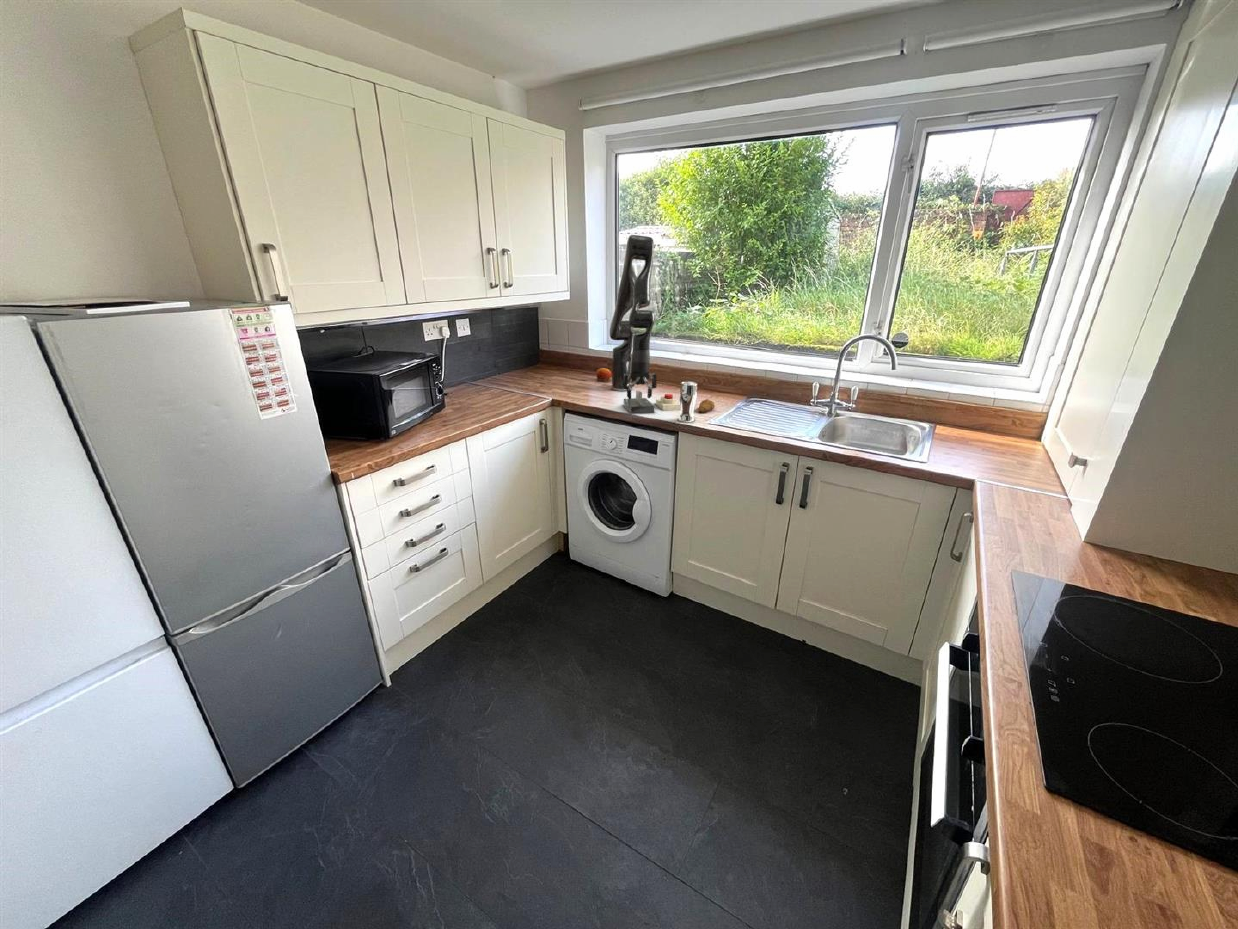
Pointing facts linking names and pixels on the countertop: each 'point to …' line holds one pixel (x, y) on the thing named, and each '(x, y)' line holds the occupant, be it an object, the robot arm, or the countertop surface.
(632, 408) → the hob panel
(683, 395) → the beer glass
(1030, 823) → the countertop surface
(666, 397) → the ignition button
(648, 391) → the robot arm
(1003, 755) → the countertop surface
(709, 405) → the brown lumpy oval piece
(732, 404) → the countertop surface
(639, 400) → the knob
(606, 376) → the fruit
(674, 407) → the ignition block
